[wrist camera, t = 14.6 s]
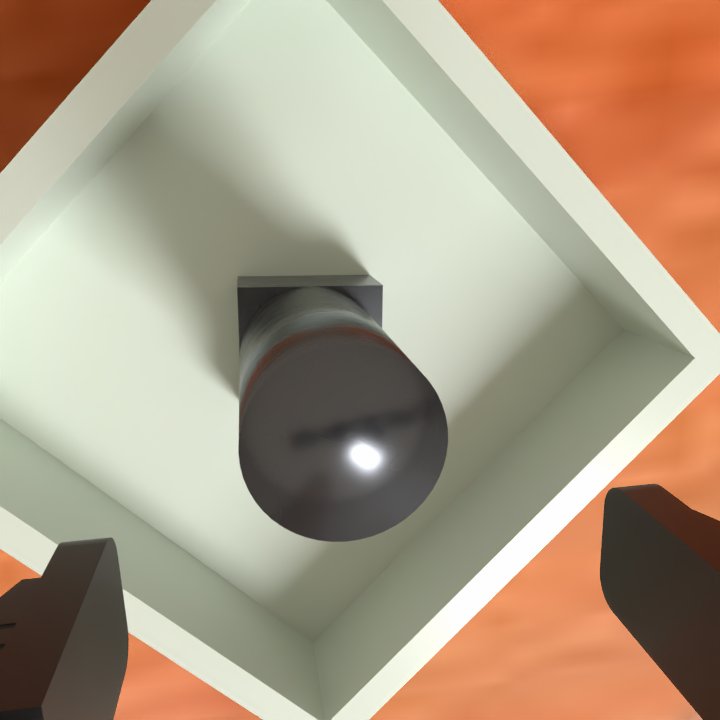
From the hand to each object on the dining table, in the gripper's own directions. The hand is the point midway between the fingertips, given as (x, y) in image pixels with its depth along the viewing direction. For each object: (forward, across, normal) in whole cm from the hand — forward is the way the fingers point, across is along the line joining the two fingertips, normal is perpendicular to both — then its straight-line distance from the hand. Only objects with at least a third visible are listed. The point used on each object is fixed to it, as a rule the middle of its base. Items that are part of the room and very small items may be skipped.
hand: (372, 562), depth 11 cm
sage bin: (+13, 0, -1) cm, 13 cm away
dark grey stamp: (+12, 0, -1) cm, 12 cm away
